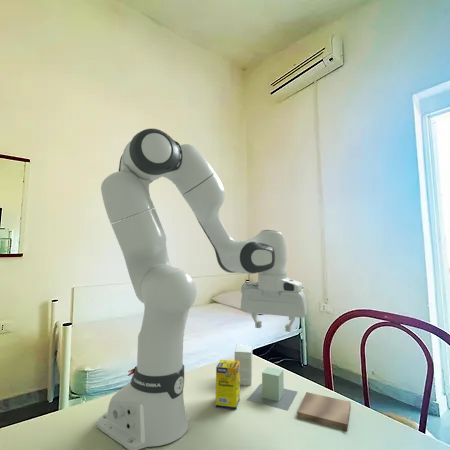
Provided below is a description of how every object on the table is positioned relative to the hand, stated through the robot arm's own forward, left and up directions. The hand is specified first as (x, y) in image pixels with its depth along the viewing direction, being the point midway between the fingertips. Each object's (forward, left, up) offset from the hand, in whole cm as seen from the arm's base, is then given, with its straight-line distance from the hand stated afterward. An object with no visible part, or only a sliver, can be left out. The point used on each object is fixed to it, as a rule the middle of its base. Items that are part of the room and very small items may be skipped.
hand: (273, 329), depth 89 cm
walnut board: (+15, -2, -19) cm, 25 cm away
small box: (-12, +6, -20) cm, 24 cm away
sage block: (0, 0, -19) cm, 19 cm away
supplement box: (-10, -10, -20) cm, 24 cm away
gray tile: (0, 0, -19) cm, 19 cm away
